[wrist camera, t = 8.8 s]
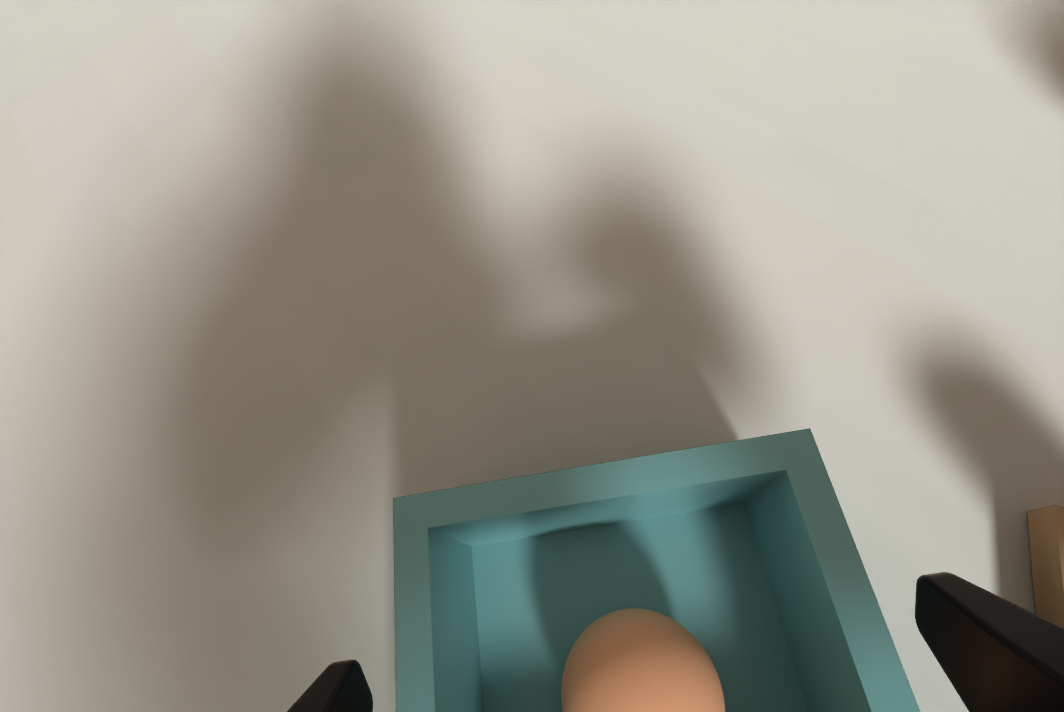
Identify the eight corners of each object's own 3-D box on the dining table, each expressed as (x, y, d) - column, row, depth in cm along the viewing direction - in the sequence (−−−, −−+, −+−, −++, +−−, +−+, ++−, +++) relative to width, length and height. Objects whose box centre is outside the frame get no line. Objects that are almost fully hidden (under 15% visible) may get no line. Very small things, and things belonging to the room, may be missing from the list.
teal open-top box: (903, 910, 11) (1062, 1076, 7) (472, 955, 12) (401, 1131, 8) (759, 474, 16) (809, 428, 12) (447, 525, 16) (393, 498, 12)
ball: (666, 809, 12) (692, 883, 9) (538, 707, 13) (521, 740, 10) (731, 663, 13) (775, 681, 10) (608, 580, 15) (613, 573, 11)
